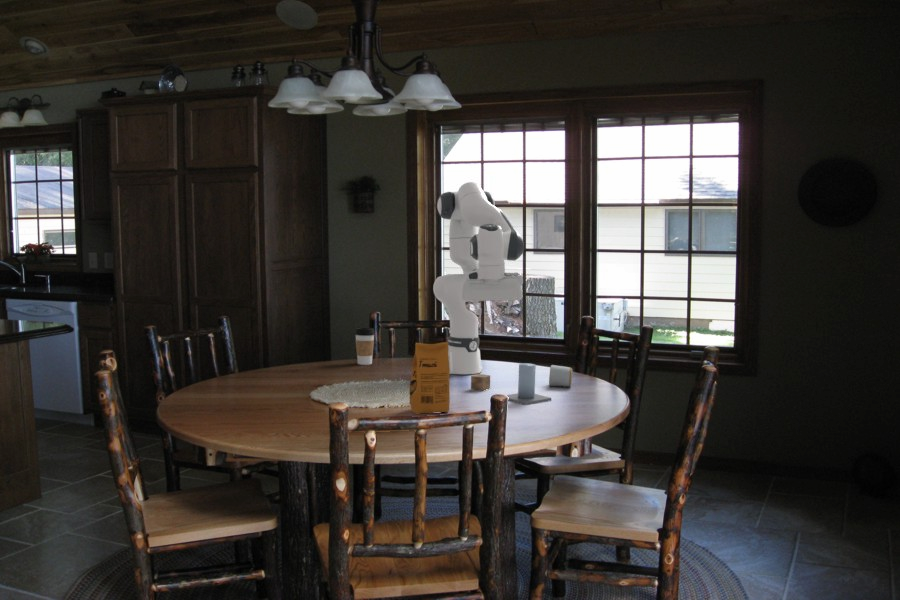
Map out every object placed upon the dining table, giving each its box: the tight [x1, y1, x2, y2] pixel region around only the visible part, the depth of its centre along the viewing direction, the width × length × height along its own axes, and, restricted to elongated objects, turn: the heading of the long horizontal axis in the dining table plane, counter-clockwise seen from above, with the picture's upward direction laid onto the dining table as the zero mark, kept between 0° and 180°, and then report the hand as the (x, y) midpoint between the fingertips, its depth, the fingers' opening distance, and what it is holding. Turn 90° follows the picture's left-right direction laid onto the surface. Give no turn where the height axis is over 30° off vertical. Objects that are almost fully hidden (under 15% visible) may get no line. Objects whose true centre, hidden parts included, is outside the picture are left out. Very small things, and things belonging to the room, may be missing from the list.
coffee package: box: [408, 341, 451, 415], centre depth 268 cm, size 10×12×22 cm
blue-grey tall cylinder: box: [517, 362, 537, 399], centre depth 287 cm, size 6×6×11 cm
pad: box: [506, 392, 552, 405], centre depth 287 cm, size 12×12×1 cm
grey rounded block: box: [548, 364, 573, 388], centre depth 311 cm, size 11×8×8 cm
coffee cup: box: [354, 327, 376, 366], centre depth 352 cm, size 8×8×15 cm
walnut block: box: [470, 373, 491, 392], centre depth 303 cm, size 5×5×5 cm
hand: (493, 313), depth 285 cm, fingers open, 8 cm apart
